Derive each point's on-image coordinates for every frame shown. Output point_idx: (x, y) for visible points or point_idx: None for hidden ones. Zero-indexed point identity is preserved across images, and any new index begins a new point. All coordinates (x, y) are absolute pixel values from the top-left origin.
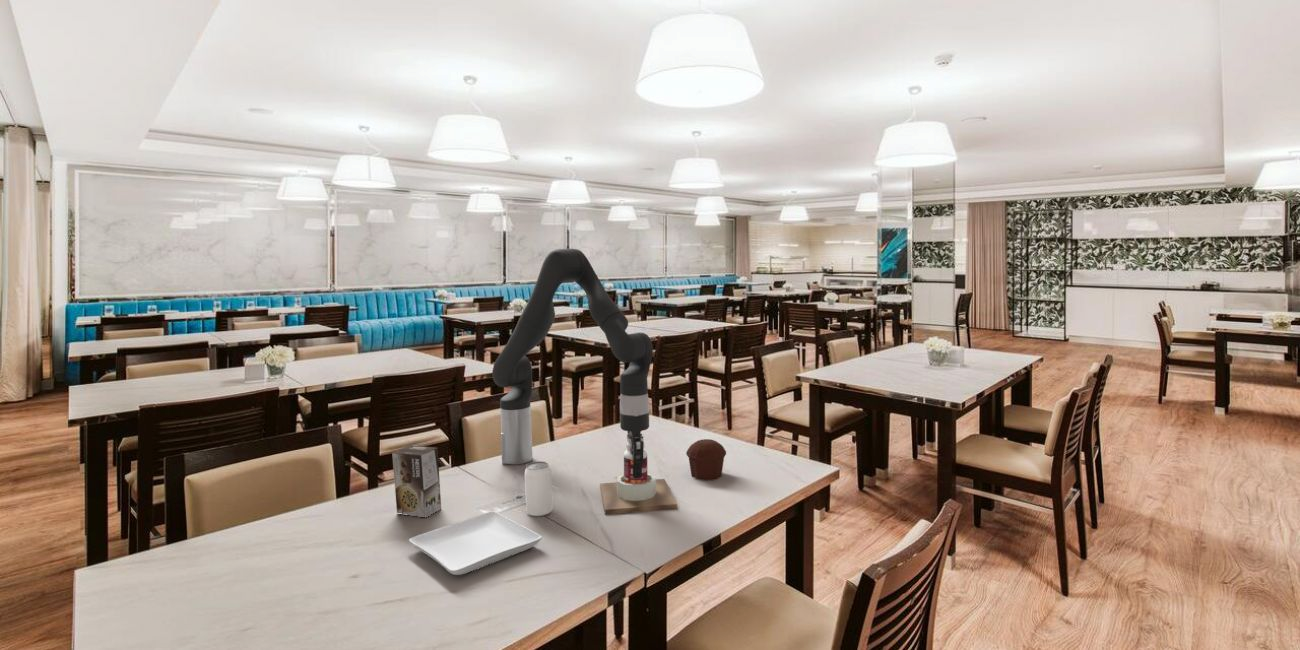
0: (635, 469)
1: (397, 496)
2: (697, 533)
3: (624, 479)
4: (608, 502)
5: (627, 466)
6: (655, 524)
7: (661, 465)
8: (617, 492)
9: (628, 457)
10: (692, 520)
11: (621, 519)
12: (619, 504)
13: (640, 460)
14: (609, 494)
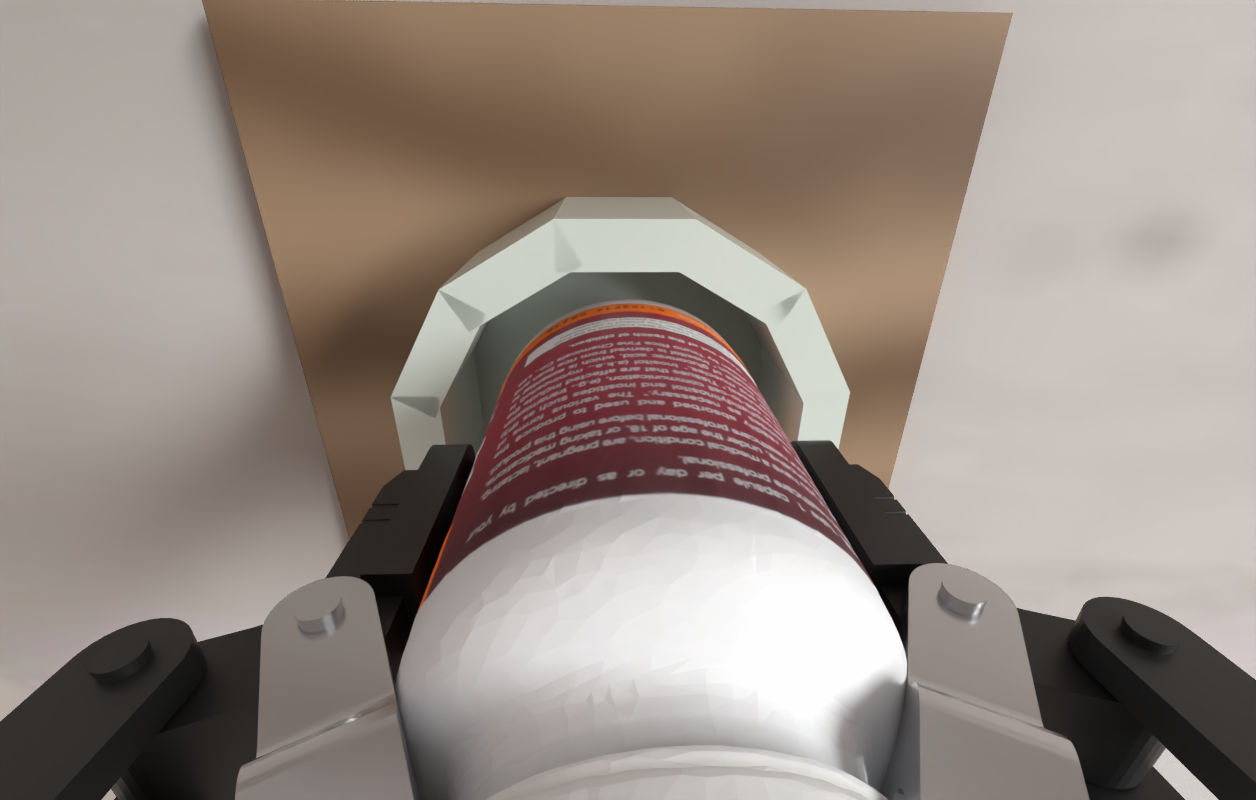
0: (349, 547)
1: None
2: (7, 629)
3: (602, 316)
4: (415, 67)
5: (502, 449)
6: (89, 431)
7: (1183, 593)
8: (627, 199)
9: (446, 596)
10: (198, 631)
11: (139, 177)
12: (358, 189)
13: (116, 794)
14: (645, 104)
